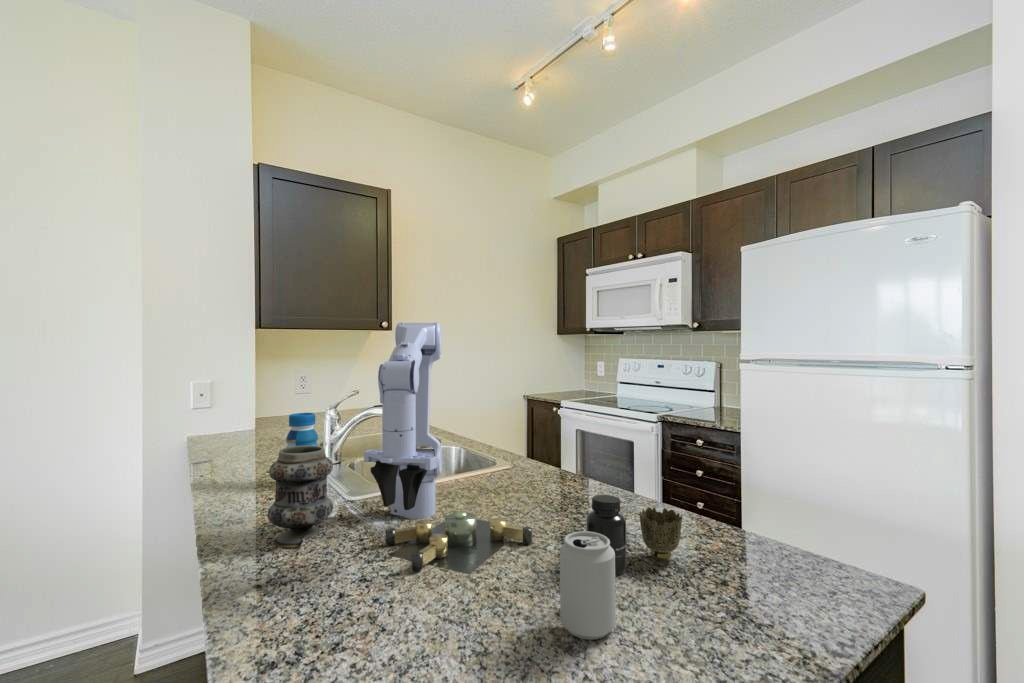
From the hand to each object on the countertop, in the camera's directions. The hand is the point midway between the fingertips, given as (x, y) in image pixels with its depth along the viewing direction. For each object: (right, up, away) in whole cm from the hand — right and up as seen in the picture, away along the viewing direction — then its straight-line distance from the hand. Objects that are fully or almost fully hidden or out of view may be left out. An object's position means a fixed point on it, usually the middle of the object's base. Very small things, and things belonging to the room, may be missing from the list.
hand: (399, 506), depth 83 cm
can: (+30, -10, -18) cm, 37 cm away
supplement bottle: (+36, -10, -1) cm, 38 cm away
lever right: (+20, -9, +8) cm, 23 cm away
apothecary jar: (-23, -11, +12) cm, 28 cm away
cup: (+47, -10, +3) cm, 48 cm away
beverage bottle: (-39, -12, +49) cm, 63 cm away
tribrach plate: (+10, -10, +8) cm, 16 cm away
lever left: (0, -9, +7) cm, 11 cm away
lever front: (+6, -9, -1) cm, 11 cm away
